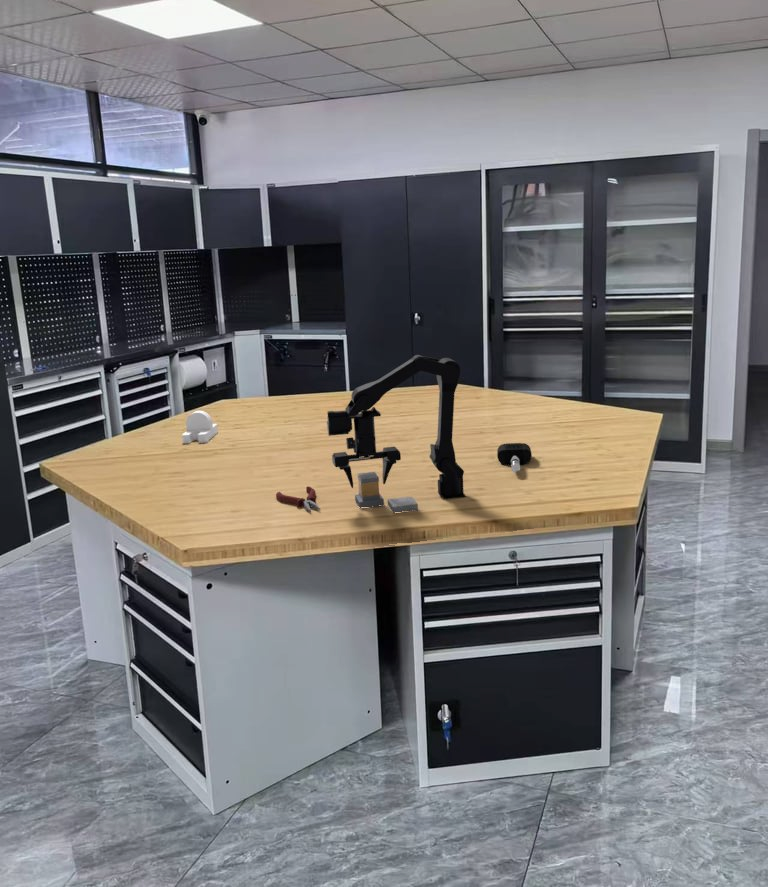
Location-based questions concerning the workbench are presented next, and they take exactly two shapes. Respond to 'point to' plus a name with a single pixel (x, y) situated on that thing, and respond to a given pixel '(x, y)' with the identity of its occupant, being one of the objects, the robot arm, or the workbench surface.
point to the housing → (368, 486)
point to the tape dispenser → (199, 428)
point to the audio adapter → (514, 455)
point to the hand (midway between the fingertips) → (368, 485)
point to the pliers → (300, 499)
